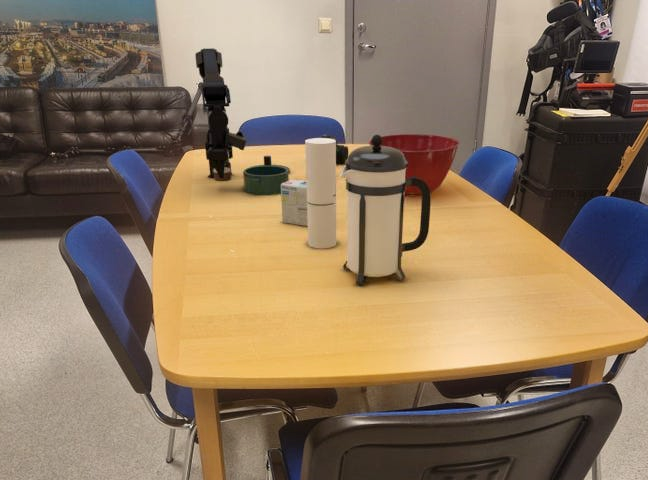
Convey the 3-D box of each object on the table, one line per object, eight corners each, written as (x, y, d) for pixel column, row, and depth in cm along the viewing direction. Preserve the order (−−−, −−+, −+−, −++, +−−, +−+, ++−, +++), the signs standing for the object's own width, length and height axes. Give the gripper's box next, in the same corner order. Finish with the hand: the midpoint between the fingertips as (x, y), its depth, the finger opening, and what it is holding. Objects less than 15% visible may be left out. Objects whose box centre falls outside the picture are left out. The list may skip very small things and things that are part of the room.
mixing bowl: (355, 196, 198) (355, 145, 190) (385, 176, 221) (386, 130, 213) (442, 206, 189) (446, 153, 181) (464, 184, 212) (468, 136, 204)
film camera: (347, 168, 232) (348, 140, 227) (314, 168, 232) (313, 140, 227) (348, 158, 247) (348, 131, 242) (317, 157, 247) (316, 131, 242)
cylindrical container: (340, 241, 161) (340, 139, 148) (330, 249, 155) (329, 144, 142) (314, 237, 163) (312, 137, 150) (303, 246, 157) (300, 142, 144)
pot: (234, 195, 198) (232, 176, 196) (257, 180, 215) (256, 162, 212) (277, 198, 195) (276, 179, 193) (297, 183, 212) (296, 165, 209)
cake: (211, 180, 200) (210, 166, 198) (218, 177, 205) (217, 163, 203) (227, 182, 199) (225, 167, 197) (234, 178, 204) (232, 164, 202)
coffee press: (390, 294, 131) (396, 145, 116) (327, 278, 139) (325, 136, 124) (427, 268, 144) (436, 131, 129) (367, 255, 151) (370, 124, 137)
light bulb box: (327, 221, 175) (326, 182, 170) (315, 228, 170) (314, 188, 164) (293, 216, 179) (291, 178, 174) (281, 222, 174) (279, 183, 168)
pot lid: (239, 175, 221) (238, 159, 218) (256, 166, 234) (255, 150, 231) (281, 178, 217) (280, 162, 215) (295, 169, 230) (294, 153, 228)
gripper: (242, 130, 187) (246, 182, 194) (245, 119, 203) (249, 169, 210) (204, 130, 186) (210, 183, 193) (210, 120, 202) (215, 169, 209)
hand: (222, 176), depth 202 cm, fingers closed on cake, 5 cm apart
